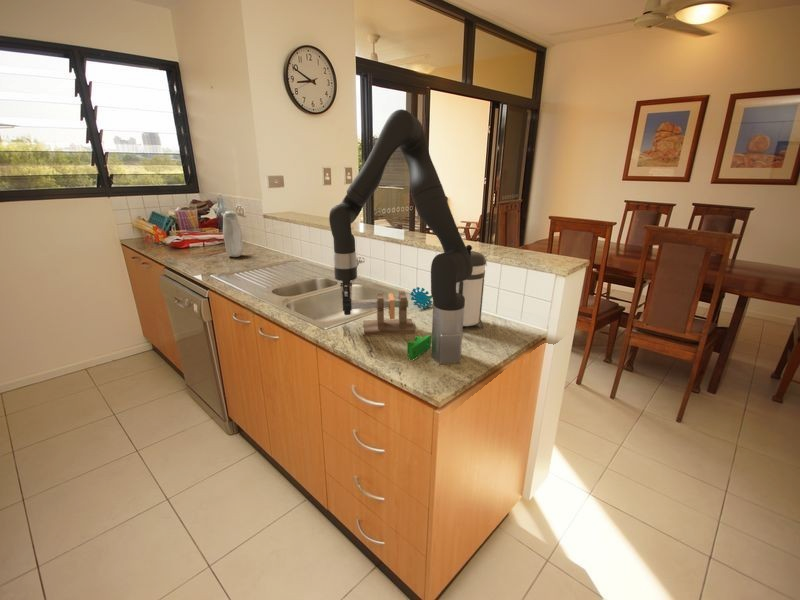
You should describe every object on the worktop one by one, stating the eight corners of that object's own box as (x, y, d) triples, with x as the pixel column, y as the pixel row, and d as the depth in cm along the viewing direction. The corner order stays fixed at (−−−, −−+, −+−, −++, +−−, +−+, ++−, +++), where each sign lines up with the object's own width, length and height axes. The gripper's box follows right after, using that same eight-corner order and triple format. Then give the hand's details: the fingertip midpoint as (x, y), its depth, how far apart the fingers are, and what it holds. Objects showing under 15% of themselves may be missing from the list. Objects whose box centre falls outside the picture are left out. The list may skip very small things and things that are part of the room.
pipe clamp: (420, 344, 125) (421, 332, 123) (430, 348, 123) (431, 335, 121) (401, 358, 116) (401, 344, 114) (411, 361, 114) (412, 348, 112)
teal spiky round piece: (415, 308, 150) (408, 286, 154) (409, 314, 155) (402, 293, 159) (437, 306, 156) (430, 285, 160) (430, 312, 161) (423, 292, 164)
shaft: (408, 308, 132) (408, 299, 131) (342, 310, 129) (342, 302, 128) (407, 305, 135) (407, 296, 134) (343, 307, 132) (342, 298, 131)
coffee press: (450, 313, 150) (454, 238, 140) (489, 321, 143) (496, 243, 132) (431, 328, 136) (434, 247, 126) (472, 338, 129) (479, 253, 118)
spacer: (394, 318, 131) (394, 300, 128) (390, 319, 130) (390, 300, 128) (392, 311, 137) (392, 293, 135) (388, 311, 137) (388, 293, 134)
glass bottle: (245, 257, 232) (239, 211, 223) (227, 259, 228) (220, 212, 218) (243, 254, 240) (236, 209, 231) (225, 255, 236) (218, 210, 226)
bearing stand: (415, 333, 132) (416, 298, 127) (364, 336, 130) (363, 300, 125) (411, 322, 141) (411, 289, 137) (363, 324, 139) (362, 290, 135)
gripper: (356, 270, 119) (358, 320, 125) (356, 259, 132) (358, 304, 138) (332, 270, 118) (335, 320, 125) (335, 259, 132) (337, 305, 138)
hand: (347, 312), depth 131 cm, fingers closed on shaft, 3 cm apart
